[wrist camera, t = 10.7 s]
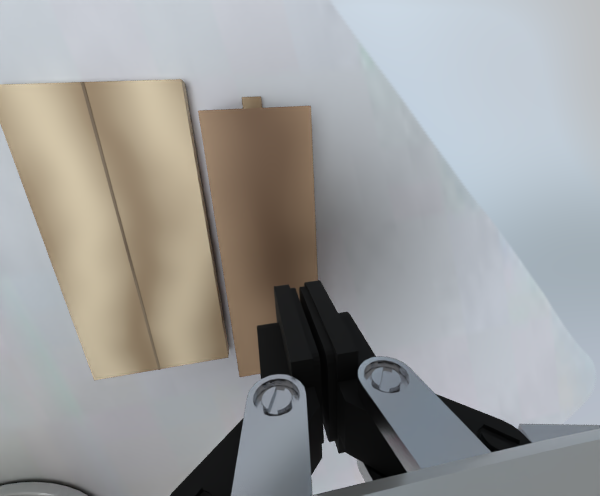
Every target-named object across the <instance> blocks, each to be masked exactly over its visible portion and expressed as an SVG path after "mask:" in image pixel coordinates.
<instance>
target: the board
mask: <svg viewBox="0 0 600 496" xmlns="http://www.w3.org/2000/svg"><path fill="white" fill-rule="evenodd" d="M242 104H243V109H248V108H262V103H261V97H242ZM0 124H1V126H2V129H3V132H4V135H5V137H6V140H7V143H8V146H9V148H10V151H11V154H12V157H13V159H14V162H15V165H16V167H17V170H18V173H19V176H20V178H21V181H22V184H23V187H24V189H25V192H26V195H27V198H28V200H29V203H30V206H31V209H32V211H33V214H34V217H35V219H36V222H37V225H38V228H39V230H40V233H41V236H42V239H43V241H44V244H45V247H46V250H47V252H48V255H49V258H50V260H51V263H52V266H53V269H54V271H55V274H56V277H57V280H58V282H59V285H60V288H61V291H62V293H63V296H64V299H65V301H66V304H67V307H68V310H69V312H70V315H71V318H72V321H73V323H74V326H75V329H76V332H77V334H78V337H79V340H80V343H81V345H82V348H83V351H84V353H85V356H86V359H87V362H88V364H89V367H90V370H91V373H92V375H93V378H94V380H99V379H105V378H111V377H117V376H123V375H128V374H134V373H140V372H146V371H152V370H160V369H164V368H169V367H175V366H181V365H187V364H193V363H199V362H205V361H210V360H216V359H222V358H228V354H229V346H228V340H227V334H226V328H225V322H224V316H223V310H222V304H221V298H220V292H219V286H218V280H217V274H216V268H215V262H214V256H213V250H212V244H211V238H210V232H209V226H208V220H207V214H206V208H205V202H204V196H203V190H202V184H201V178H200V172H199V166H198V160H197V154H196V148H195V142H194V136H193V130H192V124H191V118H190V112H189V106H188V100H187V94H186V88H185V83H184V82H183V81H182V80H181V79H176V80H142V81H107V82H73V83H38V84H4V85H0Z"/></svg>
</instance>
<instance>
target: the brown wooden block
mask: <svg viewBox="0 0 600 496" xmlns="http://www.w3.org/2000/svg"><path fill="white" fill-rule="evenodd" d="M198 113H199V120H200V126H201V133H202V139H203V145H204V152H205V158H206V165H207V171H208V177H209V184H210V190H211V197H212V203H213V210H214V216H215V222H216V229H217V235H218V242H219V248H220V254H221V261H222V267H223V274H224V280H225V286H226V293H227V299H228V306H229V312H230V318H231V325H232V331H233V338H234V344H235V350H236V357H237V363H238V370H239V376H240V377H244V376H249V375H255V374H260V373H261V372H260V360H259V348H258V336H257V325H264V324H270V323H277V318H276V308H275V297H274V286H281V285H288V284H289V286H290V288H296V291H297V294H298V297H299V300H300V295H299V287H303V286H304V283H305V282H310V281H318V274H317V249H316V224H315V199H314V174H313V149H312V124H311V106H294V107H271V108H248V109H226V110H203V111H198Z"/></svg>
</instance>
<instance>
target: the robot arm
mask: <svg viewBox="0 0 600 496" xmlns="http://www.w3.org/2000/svg"><path fill="white" fill-rule="evenodd" d="M299 295H300V300H299V297H298V294H297V291H296V288H290V286H289V284H288V285H281V286H274V297H275V308H276V318H277V323H270V324H264V325H257V336H258V348H259V360H260V372H261V380H259V381H258V382H257V383H255V384H254V386H253V387H252V388H251V389H250V391H249V394H248V396H247V401H246V407H245V413H244V418H243V419H242V420H241V421H240V422H239V423H238V424H237V425H236V426H235V427H234V429H233V430H232V431H231V432H230V433H229V434H228V435H227V436H226V437H225V438H224V439H223V440H222V441H221V442H220V443H219V444H218V445H217V446H216V447H215V448H214V449H213V451H212V452H211V453H210V454H209V455H208V456H207V457H206V458H205V459H204V460H203V461H202V462H201V463H200V464H199V465H198V466H197V467H196V468H195V469H194V470H193V471H192V473H191V474H190V475H189V476H188V477H187V478H186V479H185V480H184V481H183V482H182V483H181V484H180V485H179V486H178V487H177V488H176V489H175V490H174V491H173V492H172V494H171V495H170V496H600V425H557V424H519V428H518V429H516V428H515V427H514V426H512V425H510V424H508V423H506V422H504V421H502V420H500V419H498V418H495V417H493V416H490V415H488V414H485V413H483V412H480V411H477V410H475V409H472V408H470V407H467V406H465V405H462V404H460V403H457V402H455V401H452V400H450V399H447V398H445V397H442V396H439V395H437V394H435V393H434V392H433V391H432V390H431V389H430V388H429V387H428V386H427V385H426V384H425V383H424V382H423V381H422V380H421V379H420V378H419V377H418V376H417V375H416V374H415V373H414V372H413V371H412V369H411V368H410V367H408V366H407V365H406V364H405V363H403V362H401V361H399V360H397V359H394V358H390V357H383V356H378V357H376V356H375V355H374V353H373V351H372V350H371V348H370V346H369V345H368V343H367V341H366V340H365V338H364V337H363V335H362V333H361V332H360V330H359V328H358V327H357V325H356V324H355V322H354V320H353V319H352V317H351V315H350V314H349V313H348V312H343V313H338V312H337V311H336V309H335V307H334V305H333V303H332V302H331V300H330V298H329V296H328V294H327V292H326V291H325V289H324V287H323V285H322V283H321V282H320V280H318V281H310V282H305V283H304V286H303V287H299ZM323 424H324V428H325V431H326V435H327V438H328V441H329V442H331V441H335V443H336V446H337V449H338V452H339V453H343V452H346V453H348V454H349V455H351V456H353V457H354V458H356V459H357V465H358V468H359V471H360V473H361V475H362V477H363V479H364V481H365V483H361V484H357V485H353V486H349V487H345V488H341V489H337V490H332V491H328V492H324V493H320V494H316V495H312V480H311V475H312V473H313V472H314V470H315V468H316V467H317V465H318V463H319V462H320V460H321V459H322V443H324V435H323ZM0 496H88V495H86V494H84V493H82V492H81V491H79V490H76V489H73V488H70V487H68V486H64V485H59V484H54V483H45V482H20V483H13V484H6V485H2V486H0Z"/></svg>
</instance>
